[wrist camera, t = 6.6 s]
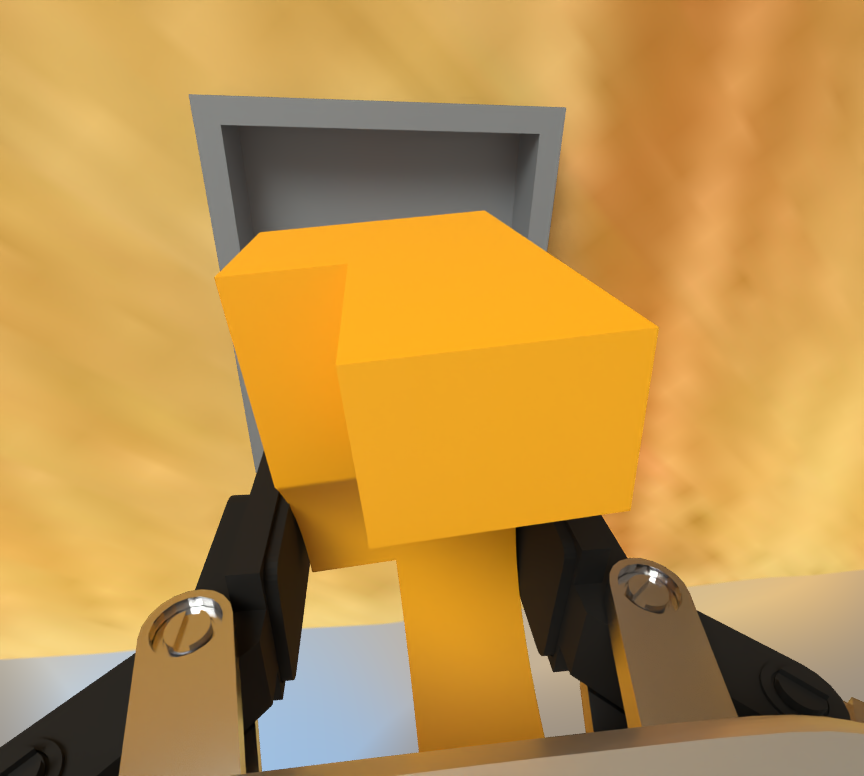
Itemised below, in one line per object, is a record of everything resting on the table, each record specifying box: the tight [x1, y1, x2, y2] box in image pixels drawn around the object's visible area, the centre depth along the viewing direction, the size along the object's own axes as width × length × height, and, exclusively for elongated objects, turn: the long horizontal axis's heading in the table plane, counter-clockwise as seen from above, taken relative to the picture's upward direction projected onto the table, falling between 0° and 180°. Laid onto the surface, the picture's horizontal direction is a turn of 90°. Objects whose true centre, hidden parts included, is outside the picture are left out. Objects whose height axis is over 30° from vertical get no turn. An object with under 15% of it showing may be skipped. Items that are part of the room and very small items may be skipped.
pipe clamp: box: [214, 210, 659, 752], centre depth 9 cm, size 12×4×6 cm, turn 4°
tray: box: [189, 94, 566, 473], centre depth 26 cm, size 15×18×4 cm
